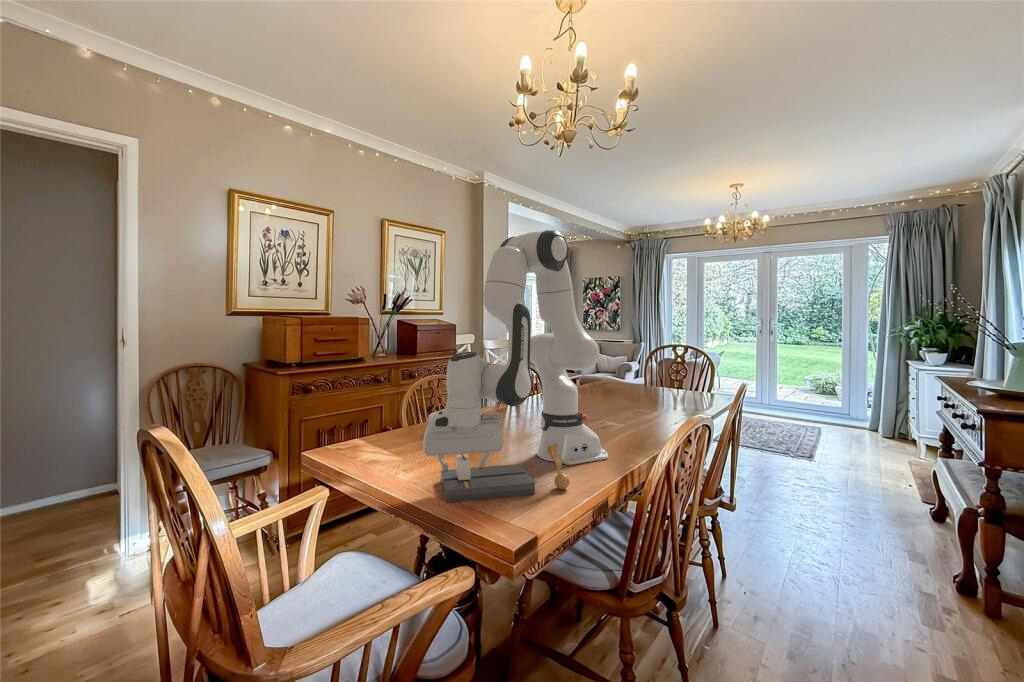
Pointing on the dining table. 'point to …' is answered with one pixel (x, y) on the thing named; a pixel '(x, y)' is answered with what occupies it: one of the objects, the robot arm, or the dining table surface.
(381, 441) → the dining table surface
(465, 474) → the fader tab
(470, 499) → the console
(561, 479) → the figurine
